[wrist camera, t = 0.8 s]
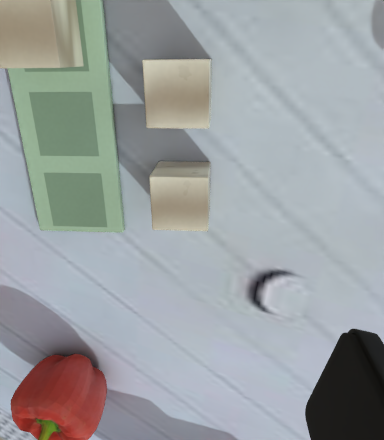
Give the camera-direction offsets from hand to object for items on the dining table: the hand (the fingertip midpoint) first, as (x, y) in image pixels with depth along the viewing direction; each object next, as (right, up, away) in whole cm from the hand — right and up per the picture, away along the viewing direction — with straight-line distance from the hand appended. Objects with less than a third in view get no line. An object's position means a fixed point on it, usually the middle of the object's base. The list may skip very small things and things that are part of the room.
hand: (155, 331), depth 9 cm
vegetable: (-14, -17, +38) cm, 44 cm away
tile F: (0, +6, +26) cm, 27 cm away
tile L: (0, +14, +23) cm, 27 cm away
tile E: (-11, +19, +21) cm, 30 cm away
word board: (-11, +12, +25) cm, 30 cm away
